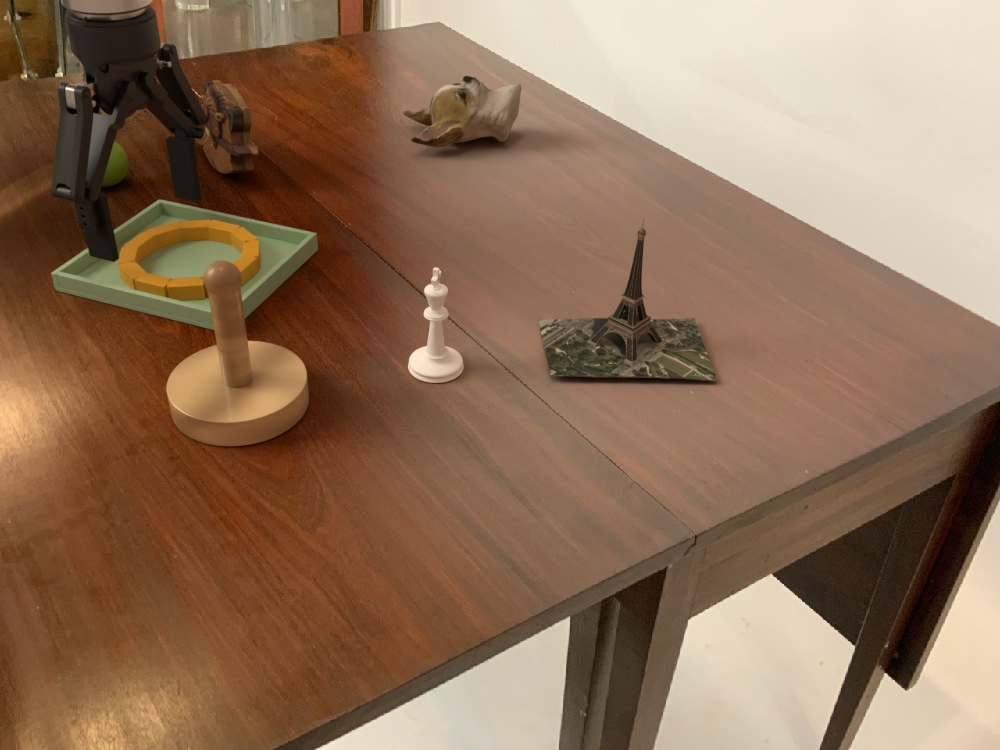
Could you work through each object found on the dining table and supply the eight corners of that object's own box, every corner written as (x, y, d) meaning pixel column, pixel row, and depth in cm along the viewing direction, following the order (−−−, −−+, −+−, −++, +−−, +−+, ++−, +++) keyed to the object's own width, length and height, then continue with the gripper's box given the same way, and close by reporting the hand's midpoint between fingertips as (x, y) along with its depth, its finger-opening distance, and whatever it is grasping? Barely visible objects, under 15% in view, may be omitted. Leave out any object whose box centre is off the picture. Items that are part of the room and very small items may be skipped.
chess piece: (469, 355, 88) (471, 258, 82) (456, 387, 84) (457, 288, 78) (416, 347, 89) (415, 250, 83) (401, 378, 85) (398, 279, 79)
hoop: (92, 283, 94) (89, 268, 93) (174, 223, 104) (172, 210, 104) (212, 312, 91) (210, 298, 90) (285, 248, 101) (283, 234, 100)
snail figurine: (132, 168, 116) (112, 69, 109) (133, 192, 111) (112, 89, 104) (83, 173, 115) (60, 72, 107) (82, 196, 110) (58, 93, 103)
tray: (55, 290, 94) (50, 272, 93) (162, 215, 107) (159, 198, 106) (229, 334, 89) (226, 315, 88) (318, 249, 102) (317, 232, 101)
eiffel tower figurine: (547, 383, 85) (559, 248, 77) (538, 319, 93) (548, 192, 85) (716, 384, 86) (745, 251, 78) (692, 321, 94) (716, 195, 86)
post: (142, 426, 78) (109, 283, 70) (219, 352, 87) (198, 217, 79) (265, 461, 75) (245, 316, 67) (332, 381, 84) (322, 244, 76)
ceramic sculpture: (529, 86, 119) (407, 96, 117) (529, 152, 124) (413, 163, 122) (513, 58, 127) (399, 67, 125) (513, 121, 132) (404, 131, 130)
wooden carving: (179, 148, 121) (166, 69, 115) (213, 140, 124) (202, 62, 118) (239, 198, 111) (228, 114, 105) (275, 188, 113) (267, 105, 108)
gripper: (45, 57, 74) (99, 295, 86) (226, -21, 93) (248, 183, 105) (-35, 41, 75) (29, 276, 88) (159, -32, 95) (188, 170, 107)
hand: (148, 226), depth 97 cm, fingers open, 13 cm apart
